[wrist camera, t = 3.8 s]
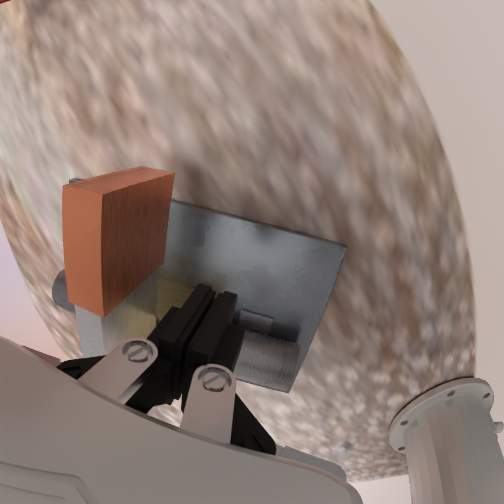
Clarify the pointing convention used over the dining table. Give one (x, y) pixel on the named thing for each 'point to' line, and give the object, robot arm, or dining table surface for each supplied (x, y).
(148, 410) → the robot arm
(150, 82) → the dining table surface
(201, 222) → the valve
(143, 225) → the lever
